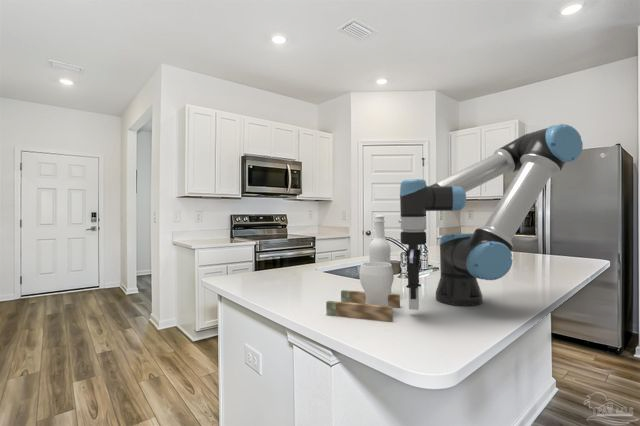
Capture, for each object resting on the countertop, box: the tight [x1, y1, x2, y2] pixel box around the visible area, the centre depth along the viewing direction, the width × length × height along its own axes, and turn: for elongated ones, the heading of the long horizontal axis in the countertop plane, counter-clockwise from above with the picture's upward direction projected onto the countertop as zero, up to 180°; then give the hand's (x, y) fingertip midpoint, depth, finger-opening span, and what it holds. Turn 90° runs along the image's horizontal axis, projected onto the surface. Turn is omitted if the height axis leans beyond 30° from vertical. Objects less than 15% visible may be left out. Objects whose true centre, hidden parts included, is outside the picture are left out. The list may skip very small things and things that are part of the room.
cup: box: [358, 261, 395, 306], centre depth 107 cm, size 11×11×15 cm
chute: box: [325, 289, 401, 322], centre depth 109 cm, size 20×16×4 cm
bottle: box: [368, 214, 392, 294], centre depth 127 cm, size 8×8×30 cm
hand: (413, 308), depth 103 cm, fingers closed
